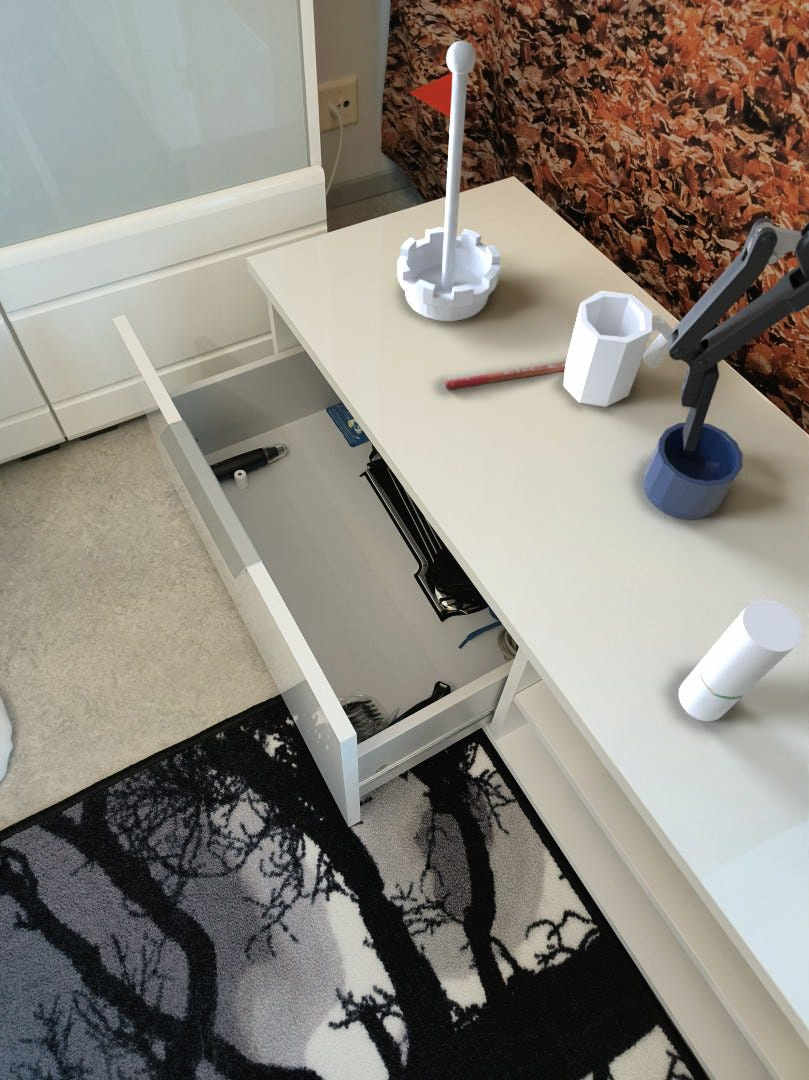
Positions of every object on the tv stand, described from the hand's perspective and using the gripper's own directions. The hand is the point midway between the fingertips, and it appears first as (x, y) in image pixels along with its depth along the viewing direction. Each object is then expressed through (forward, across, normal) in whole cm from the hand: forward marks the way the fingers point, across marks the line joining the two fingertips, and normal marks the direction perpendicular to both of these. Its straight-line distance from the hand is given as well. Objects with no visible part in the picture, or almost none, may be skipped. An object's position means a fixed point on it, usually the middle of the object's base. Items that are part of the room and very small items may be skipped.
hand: (781, 454), depth 56 cm
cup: (+17, +2, -17) cm, 24 cm away
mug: (+13, +11, -32) cm, 36 cm away
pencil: (+13, +22, -30) cm, 39 cm away
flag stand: (+9, +34, -42) cm, 54 cm away
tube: (+23, 0, +6) cm, 24 cm away
